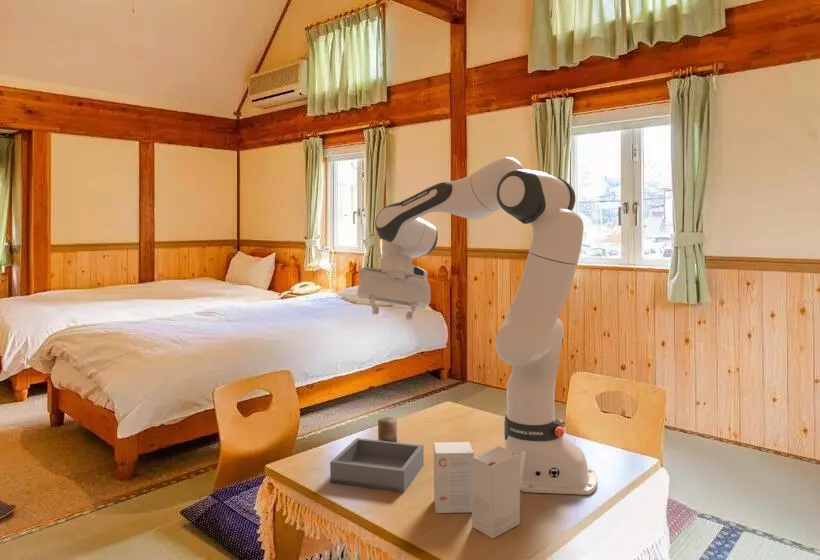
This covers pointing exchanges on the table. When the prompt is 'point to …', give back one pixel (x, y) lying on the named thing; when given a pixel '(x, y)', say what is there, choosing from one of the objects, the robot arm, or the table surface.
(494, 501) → the skincare box
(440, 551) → the table surface
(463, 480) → the small box
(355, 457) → the tote
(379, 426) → the walnut cylinder
